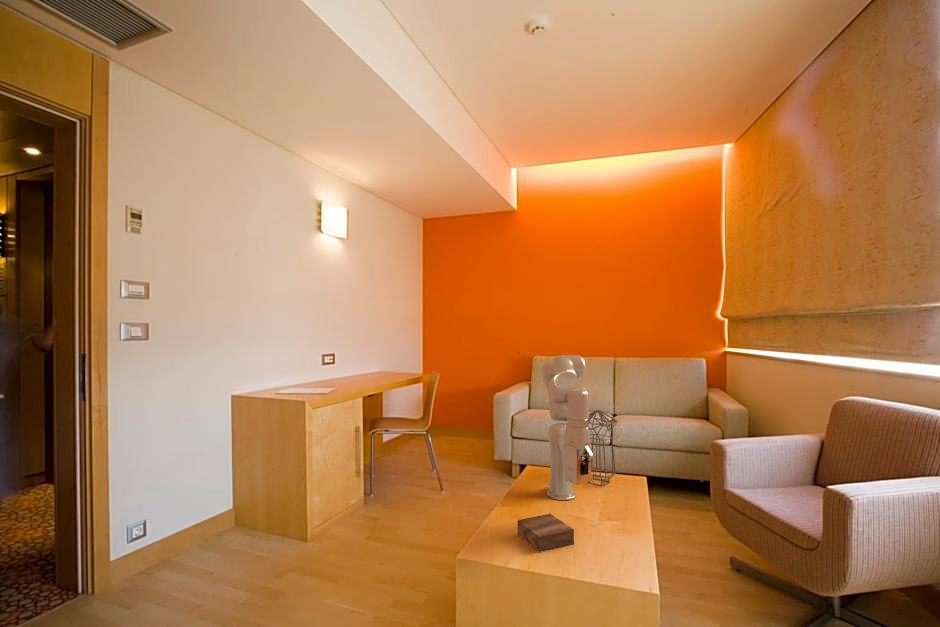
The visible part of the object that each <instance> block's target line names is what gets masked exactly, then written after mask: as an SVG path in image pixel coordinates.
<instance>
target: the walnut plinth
mask: <svg viewBox="0 0 940 627" xmlns="http://www.w3.org/2000/svg"><path fill="white" fill-rule="evenodd" d="M517 535H518V536H519V537H520V536H521V537H522V538H521V537H520V538H521V539H523V540H524V541H525V540H526V541H527V542H528V543H527V542H526V541H525V542H526V543H527V544H528V545H530V544H531V545H532V546H533V547H534V548H533V547H532V546H531V545H530V546H531V547H532V548H533V549H534V550H536V551H537V552H538V551H539V552H538V553H541V551H543V552H547V551H552V550H555V548H556V549H559V548H565V547H569V546H572V545H575V529H574V528H572V527H571V526H570V525H568V523H565V522H563V521H562V520H561V519H559V518H557V517H556V516H555V515H554V514H552V513H548V514H547V513H545V514H542V515H537V516H532V517H526V518H521V519H517ZM546 550H547V551H546Z"/></svg>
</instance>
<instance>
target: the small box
mask: <svg viewBox="0 0 940 627" xmlns="http://www.w3.org/2000/svg"><path fill="white" fill-rule="evenodd" d="M590 450H591V451H592V445H590ZM583 455H585V453H584V454H583ZM583 458H584V459H585V457H583ZM581 463H582V462H581V456H580V457H579V456H578V449H576V448H574V447H572V446H569V445H566V446H565V455H564V480H565V481H567V482H570V483H572V485H575V486H578V485H582V484H585V483H588V482H591V483H592V480H591V478H592V476H591V474H592V469H591V461H590V463H589V473H588V474H585V475H581V473H580V472H581Z"/></svg>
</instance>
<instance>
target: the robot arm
mask: <svg viewBox="0 0 940 627" xmlns="http://www.w3.org/2000/svg"><path fill="white" fill-rule="evenodd" d="M586 365H587V364H586V362H585V359H584V357H583V356H581V355H579V354H578V355H577V354H574V355H573V354H572V355H571V354H569V355H567V354H561V355H557V356H555V357H554V358H552V360H551V362H546V363H544V364H543V365H542V366H541V375H542V381H543V383H544V386H545V389H546V390H547V396H548V397H547V398H548V408H549V416H550V418H551V419H552V421H555V422H557V423H554V424H551V425H550V426H549V427H548V430H547V431H548V432H547V433H548V434H547V435H548V441H549V451H550V457H549V458H550V481H547V485H548V486H549V489H548V490H547V491H546V495H547V496H548V497H549V498H551V499H553V500H558V501H571V500H574V499H575V498H576V497H577V493H576V492H575V491H574V490H573V484H572V483H570V482H567V481H565V480H564V455H565V446H566V445H569V446H572V447H574V448H576V449H578V456H579V457H580V456H581V462H582V463H581V472H580V473H581V475H585V474H588V473H589V463H590V461H591V459H592V458H594V453H593V454H592V449H591V450H590V446H591V437H590V436H591V435H590V429H589V428H590V427H588V419H589V418H588V417H589V416H588V414H589V392H588V390H587V389H586V388H585V387H584V386H580V385H579V386H578V385H577V386H575V385H574V384H575V383H576V381H577V380H579V379H580V378H581V377H582V376H583V375H584V373H585V372H586ZM573 385H574V386H573ZM559 422H562V423H559ZM563 422H564V423H563ZM565 422H566V423H565ZM584 453H585V455H583V454H584ZM583 457H585V459H584V458H583Z"/></svg>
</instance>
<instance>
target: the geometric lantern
mask: <svg viewBox="0 0 940 627" xmlns="http://www.w3.org/2000/svg"><path fill="white" fill-rule="evenodd" d="M597 414H598V416H599V418H598V417H596V416H597ZM609 418H610V419H609ZM592 419H593V420H592ZM591 420H592V422H591ZM595 421H596V422H597V423H594V422H595ZM619 422H620V421H619V420H618V419H616V418H614V417H613V416H612V415H609V414H608V413H606V412H604V411H603V410H601V409H595V410H594V411H592V412H590V413H588V428H589V431H591V434H590V433H589V435H590V436H592V437H590V440H592V442H591V452H592V454H593V455H594V440H595V442H596V443H595V444H596V446H595V447H596V448H595V449H596V451H595V452H596V454H595V456H596V457H595V467H593V461H594V459H593V458H594V457H593V458H592V459H591V482H589V484H592V483H593V482H592V481H599V482H600V483H601V484H598V483H593V484H592V485H596V486H600V487H605V486H606V485H608V484H610V483H611V482H610V481H611V480H610V479H612V478H613V477H614V476H616V474H617V472H616V461H615V453H614V452H615V451H614V449H615V448H614V440H613V439H614V427H615V426H616V425H617V424H618V423H619ZM590 424H591V427H592V428H591V427H590ZM595 425H596V426H595ZM594 426H595V427H594ZM611 426H612V427H611ZM599 427H600V428H599ZM603 427H605V428H606V429H607V430H606V431H605V433H604V434H600V432H601V430H602V428H603ZM598 428H599V430H598V432H597V431H596V429H598ZM592 430H593V431H592ZM610 431H611V432H610ZM607 432H608V434H609V435H606V434H607ZM600 436H602V438H600ZM594 437H596V438H594ZM605 437H608V438H605ZM604 438H605V439H604ZM608 440H611V442H610V443H611V466H612V467H611V468H612V470H608V469H607V466H606V464H607V462H606V450H605V449H606V448H605V441H608ZM601 441H602V447H603V448H602V449H603V450H602V451H603V461H604V463H603V464H604V468H601V467H602V465H601V462H602V461H601ZM598 451H599V452H598ZM598 454H599V457H598ZM598 460H599V461H598ZM598 466H599V467H598ZM593 469H594V470H595V473H594V470H593ZM597 471H599V474H597V473H598V472H597ZM602 471H604V475H602ZM608 472H609V473H610V474H608V475H607V473H608ZM592 479H593V480H592ZM604 482H606V483H604ZM603 483H604V484H603Z"/></svg>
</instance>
